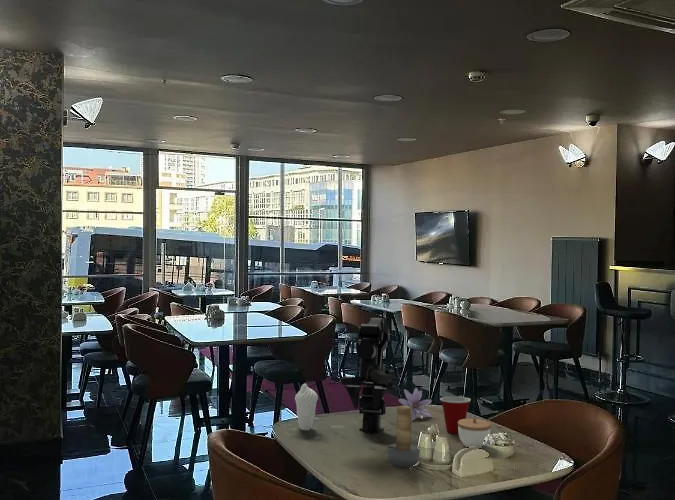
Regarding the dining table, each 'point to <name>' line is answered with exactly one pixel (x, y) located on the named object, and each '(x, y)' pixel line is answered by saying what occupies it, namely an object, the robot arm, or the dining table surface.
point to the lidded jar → (473, 431)
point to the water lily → (413, 403)
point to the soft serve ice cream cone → (306, 407)
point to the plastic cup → (454, 411)
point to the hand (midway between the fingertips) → (366, 409)
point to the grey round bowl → (402, 456)
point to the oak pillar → (403, 428)
